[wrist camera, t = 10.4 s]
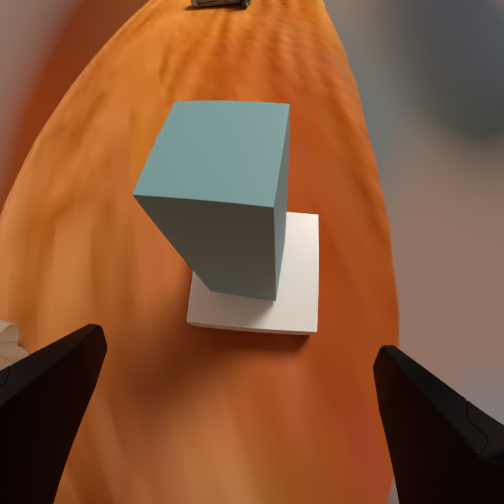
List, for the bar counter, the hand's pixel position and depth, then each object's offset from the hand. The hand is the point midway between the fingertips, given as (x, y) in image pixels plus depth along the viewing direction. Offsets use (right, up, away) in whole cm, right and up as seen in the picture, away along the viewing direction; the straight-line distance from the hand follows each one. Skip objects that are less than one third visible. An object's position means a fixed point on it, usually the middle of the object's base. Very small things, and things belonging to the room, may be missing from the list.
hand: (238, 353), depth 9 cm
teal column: (0, +2, +13) cm, 13 cm away
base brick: (+1, +1, +16) cm, 16 cm away
